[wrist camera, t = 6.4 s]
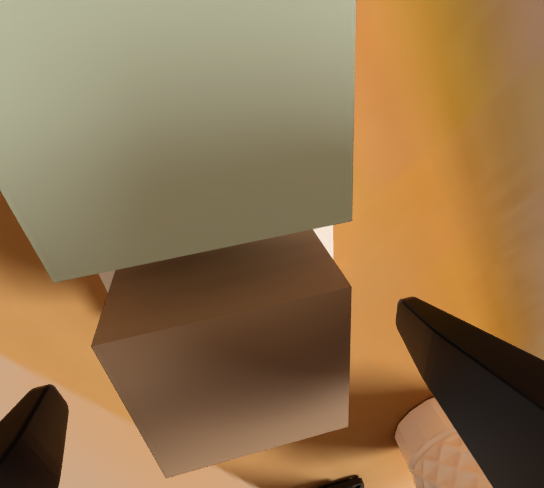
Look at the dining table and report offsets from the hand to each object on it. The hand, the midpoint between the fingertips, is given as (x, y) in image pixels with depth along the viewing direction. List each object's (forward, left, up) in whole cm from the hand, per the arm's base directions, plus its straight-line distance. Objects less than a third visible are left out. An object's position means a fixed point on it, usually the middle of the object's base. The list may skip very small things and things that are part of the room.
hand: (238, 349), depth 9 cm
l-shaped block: (+3, 0, -6) cm, 6 cm away
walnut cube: (0, 0, -4) cm, 4 cm away
